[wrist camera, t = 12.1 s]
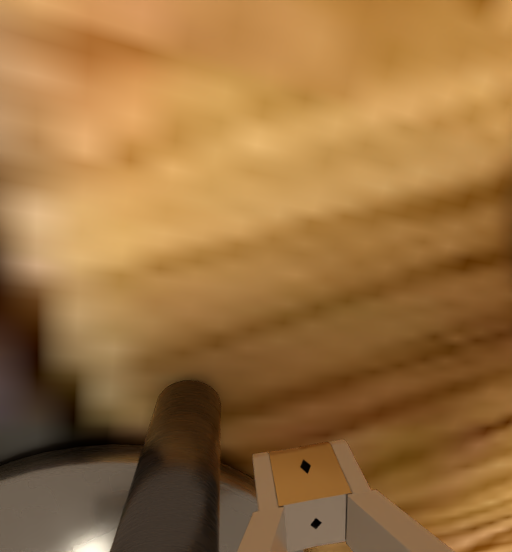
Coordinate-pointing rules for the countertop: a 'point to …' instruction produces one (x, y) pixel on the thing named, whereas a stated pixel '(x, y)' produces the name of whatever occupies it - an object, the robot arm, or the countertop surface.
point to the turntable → (133, 489)
